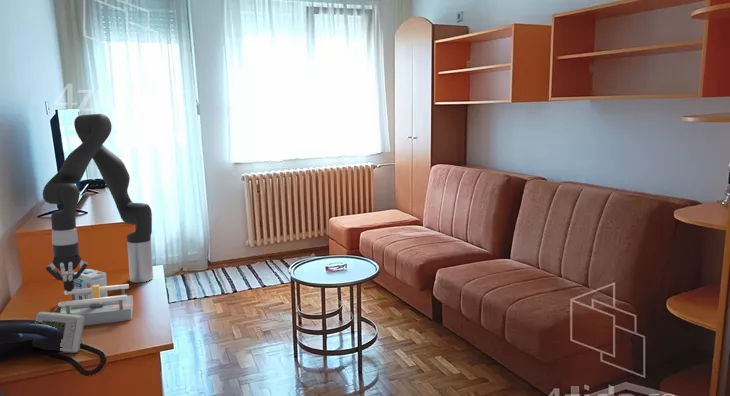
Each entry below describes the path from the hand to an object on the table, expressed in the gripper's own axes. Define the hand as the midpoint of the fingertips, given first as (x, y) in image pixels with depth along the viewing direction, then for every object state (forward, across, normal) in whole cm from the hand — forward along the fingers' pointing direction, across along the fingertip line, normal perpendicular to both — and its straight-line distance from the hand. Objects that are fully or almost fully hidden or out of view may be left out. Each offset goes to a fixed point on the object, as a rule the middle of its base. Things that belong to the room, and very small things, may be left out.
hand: (69, 290), depth 177 cm
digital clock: (+11, 0, +23) cm, 25 cm away
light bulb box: (+11, -4, -19) cm, 22 cm away
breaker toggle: (+6, -8, 0) cm, 10 cm away
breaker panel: (+10, -8, 0) cm, 13 cm away
